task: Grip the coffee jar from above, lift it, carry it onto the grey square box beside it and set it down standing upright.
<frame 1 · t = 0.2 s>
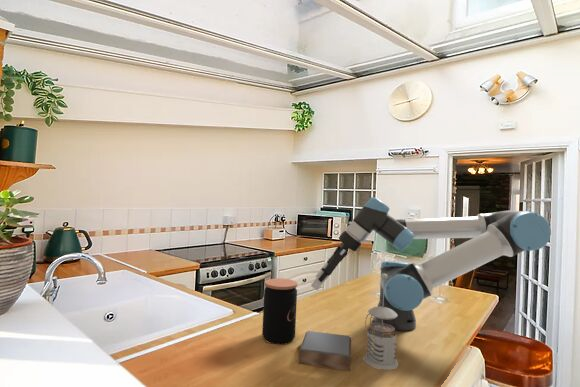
hand: (316, 283, 120), 16 cm above the countertop, tool tilted 35°, fingers open, 13 cm apart
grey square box: (326, 355, 98), on the countertop
coffee jar: (278, 338, 109), on the countertop
glass coffee plunger: (378, 360, 98), on the countertop
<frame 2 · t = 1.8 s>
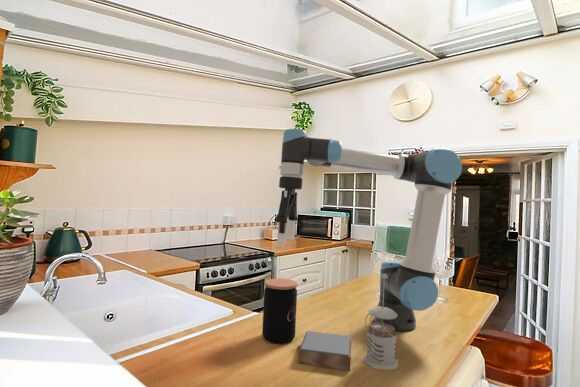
hand: (285, 241, 111), 31 cm above the countertop, tool pointing down, fingers open, 13 cm apart
nothing on the countertop moved.
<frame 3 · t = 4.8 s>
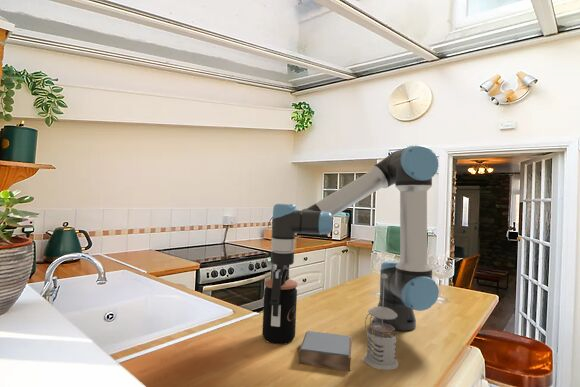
hand: (279, 319, 109), 6 cm above the countertop, tool pointing down, fingers closed on coffee jar, 11 cm apart
coffee jar: (278, 338, 109), on the countertop, touching gripper
everything else where it was.
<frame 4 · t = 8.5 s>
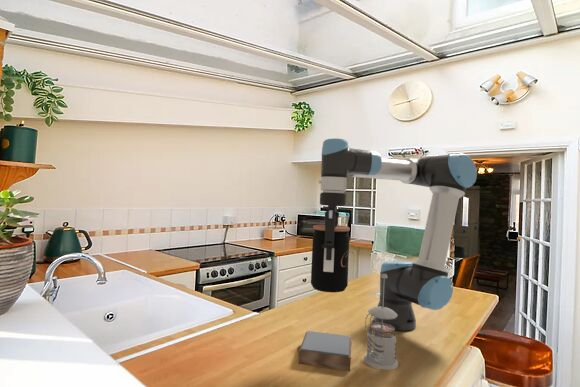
hand: (329, 267, 99), 26 cm above the countertop, tool pointing down, fingers closed on coffee jar, 11 cm apart
coffee jar: (328, 288, 99), point 19 cm above the countertop, touching gripper
everything else where it was.
when the fingers open (11 cm above the countertop, at t = 12.1 s): coffee jar drops 1 cm, resting on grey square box.
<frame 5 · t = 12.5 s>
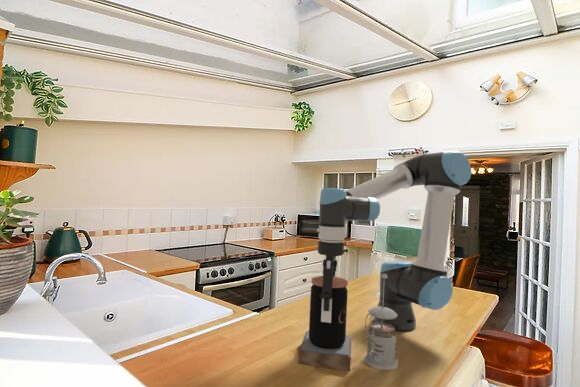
hand: (327, 313, 99), 12 cm above the countertop, tool pointing down, fingers open, 13 cm apart
coffee jar: (326, 342, 99), point 4 cm above the countertop, touching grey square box
everything else where it was.
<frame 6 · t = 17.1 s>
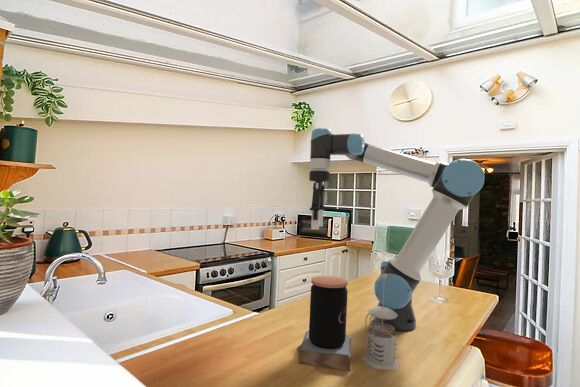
hand: (317, 227, 126), 35 cm above the countertop, tool pointing down, fingers open, 13 cm apart
nothing on the countertop moved.
at the end: coffee jar inside the target area on the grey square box (0.1 cm from its centre), point 3.8 cm above the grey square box's base; coffee jar tilted 0°; the gripper is holding nothing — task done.
